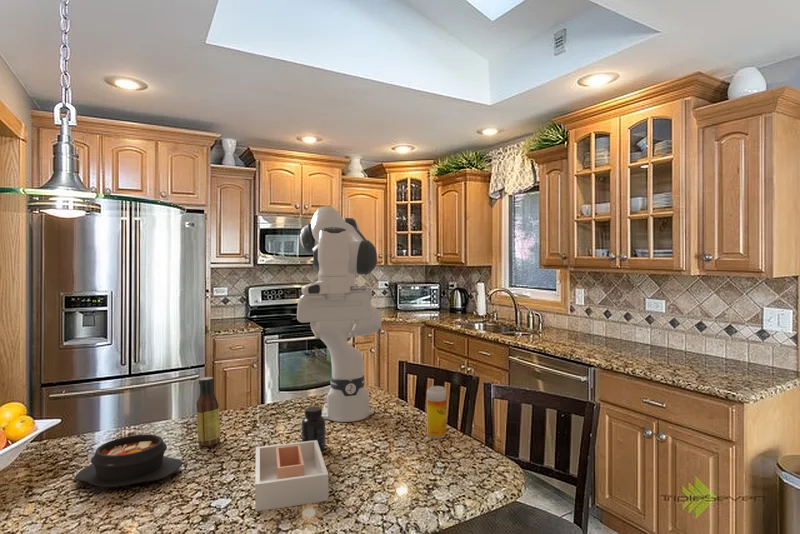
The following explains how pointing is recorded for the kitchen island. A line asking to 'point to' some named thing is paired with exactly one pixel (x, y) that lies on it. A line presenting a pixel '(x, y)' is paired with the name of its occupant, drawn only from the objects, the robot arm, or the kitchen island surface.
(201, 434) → the sauce bottle
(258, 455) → the grey crate
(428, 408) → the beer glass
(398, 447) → the kitchen island surface
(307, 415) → the supplement bottle
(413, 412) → the kitchen island surface
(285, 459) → the terracotta crate
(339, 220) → the robot arm
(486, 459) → the kitchen island surface
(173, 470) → the casserole
